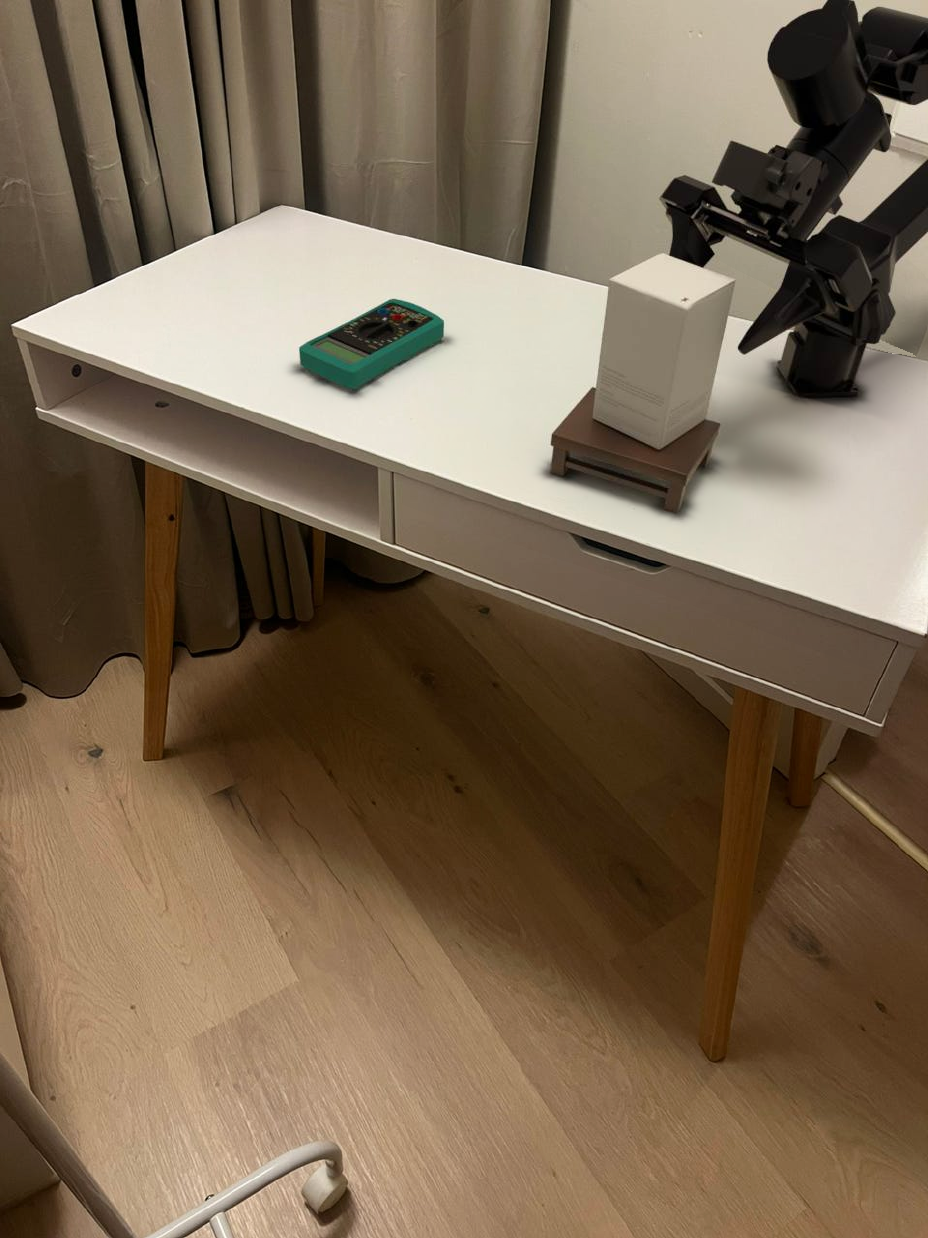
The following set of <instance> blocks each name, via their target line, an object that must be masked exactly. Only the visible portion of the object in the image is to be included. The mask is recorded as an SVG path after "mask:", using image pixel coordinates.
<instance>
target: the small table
mask: <svg viewBox="0 0 928 1238" xmlns="http://www.w3.org/2000/svg"><path fill="white" fill-rule="evenodd" d="M595 392H596V387H595V386H592V387H591V388H590V389H589V390H588V391H587V392H586V393H585V395H584V396H583V397H582V398H581V399H580V401H579V402H578V403H577V404H576V405H575V406H574V408H573V409H571V411H570V412H569V413H568V415H567V416H566V417H565V418H564V419H563V420H562V421H561V423H560V424H559V425H558V426H557V427H556V428H555V429H554V430H553V432H551V436H550V446H551V447H552V456H551V464H550V473H551V474H553V475H554V474H555V475H558V476H560V477H564V476H565V474H566V473H567V472H568V471H569V469H571V470H574V471H578V472H581V473H584V474H588V475H589V476H590V475H591V476H593V477H597V478H600V479H603V480H606V481H608V482H609V481H610V482H613V483H615V484H619V485H621V486H626V487H628V488H632V489H635V490H638V491H642V492H645V493H648V494H650V495H654V496H657V497H660V498H664V499H665V502H664V507H663V509H664V510H667V511H670V512H674V513H678V512H679V511H680V509H681V508H682V506H683V504H684V503H683V502H684V499H685V493H686V489H687V485H688V483H689V482H690V480H691V478H692V476H693V475H694V473H695V472H696V470H697V469H698V468H701V469H703V470H704V469H706V468H707V466H708V464H709V463H710V459H711V454H712V451H713V447H714V443H715V441H716V439H717V437H718V435H719V432H720V428H721V423H720V422H717V421H714V420H710V419H707V418H705V419H704V420H703V421H702V422H701V423H699V424H698V425H696V426H695V427H693V428H692V429H690V430H689V431H687V432H686V433H684V434H683V435H681V436H680V437H678V438H677V439H675V440H674V441H672V442H671V443H669V444H668V445H666V446H665V447H663V448H662V449H660V450H658V449H656V448H654V447H652V446H650V445H648V444H646V443H644V442H641V441H639V440H637V439H635V438H633V437H631V436H629V435H627V434H625V433H623V432H621V431H619V430H616V429H614V428H612V427H610V426H608V425H606V424H604V423H602V422H600V421H597V420H595V419H593V409H594V401H595ZM571 453H574V454H577V455H580V456H583V457H587V458H589V459H593V460H596V461H599V462H603V463H606V464H608V465H609V464H610V465H612V466H616V467H620V468H622V469H625V470H629V471H632V472H635V473H638V474H642V475H645V476H648V477H652V478H654V479H658V480H661V481H665V482H667V483H668V487H667V486H664V485H661V484H658V483H655V482H651V481H648V480H644V479H642V478H640V477H639V478H638V477H636V476H633V475H629V474H626V473H623V472H619V471H617V470H613V469H610V468H607V467H603V466H600V465H597V464H593V463H590V462H587V461H584V460H582V459H581V460H580V459H578V458H574V457H571Z"/></svg>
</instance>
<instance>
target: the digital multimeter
mask: <svg viewBox="0 0 928 1238" xmlns="http://www.w3.org/2000/svg"><path fill="white" fill-rule="evenodd" d="M444 334H445V320H444V319H443V318H441V317H440V316H438V314H435V313H434V312H432V311H430V310H428V309H426V308H425V307H423V306H420V305H418V304H415V303H413V302H410V301H406V300H402V299H397V298H390V299H389V300H388V299H387V300H386V301H384V302H383V303H381V304H378V305H377V306H376V307H375V306H374V307H373V308H371V309H370V310H368V311H366V312H364V313H362V314H360V315H358V316H357V317H354V318H352V319H351V320H348V321H346V322H345V323H343V324H341V325H339V326H337V327H335V328H333V329H331V330H329V331H327V332H325V333H323V334H321V335H318V336H317V337H315V338H312V339H310V340H308V341H306V342H305V343H304V344H302V345H300V346H299V347H298V349H299V350H298V351H299V352H298V353H299V364H300V366H301V367H303V368H305V369H307V370H308V371H310V372H312V373H314V374H316V375H318V376H320V377H321V378H324V379H326V380H327V381H331V382H333V383H335V384H337V385H339V386H343V387H345V388H347V389H350V390H355V389H357V388H359V387H361V386H362V385H364V384H366V383H368V381H371V380H373V379H374V378H376V377H379V375H381V374H383V373H384V372H386V371H388V370H389V369H392V368H393V367H395V366H397V365H398V364H400V363H402V362H403V361H406V360H407V359H409V358H411V357H412V356H414V355H416V354H418V353H419V352H421V351H423V350H425V349H426V348H428V347H430V346H432V345H433V344H435V343H437V342H439V341H440V340H441V339H443V338H444V336H445V335H444Z"/></svg>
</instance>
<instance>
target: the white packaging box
mask: <svg viewBox="0 0 928 1238" xmlns="http://www.w3.org/2000/svg"><path fill="white" fill-rule="evenodd" d="M735 285H736V279H735V278H733V277H730V276H727V275H724V274H721V273H718V272H715V271H713V270H709V269H707V268H705V267H703V268H702V267H699V266H696V265H693V264H691V263H688V262H685V261H682V260H680V259H677V258H674V257H672V256H669V254H666V253H663V252H661V253H659V254H657V255H655V256H653V257H650V258H649V259H646V260H644V261H643V262H640V263H638V264H636V265H634V266H633V267H631V268H629V269H627V270H625V271H623V272H621V273H618V274H616V275H615V276H612V277H610V278H609V279H608V288H607V297H606V305H605V313H604V321H603V329H602V337H601V344H600V353H599V360H598V369H597V377H596V383H595V388H596V392H595V401H594V409H593V419H595V420H597V421H600V422H602V423H604V424H606V425H608V426H610V427H612V428H614V429H616V430H619V431H621V432H623V433H625V434H627V435H629V436H631V437H633V438H635V439H637V440H639V441H641V442H644V443H646V444H648V445H650V446H652V447H654V448H656V449H658V450H660V449H662V448H663V447H665V446H666V445H668V444H669V443H671V442H672V441H674V440H675V439H677V438H678V437H680V436H681V435H683V434H684V433H686V432H687V431H689V430H690V429H692V428H693V427H695V426H696V425H698V424H699V423H701V422H702V421H703V420H704V419H707V415H708V411H709V406H710V402H711V397H712V392H713V389H714V383H715V378H716V374H717V369H718V365H719V360H720V354H721V350H722V346H723V341H724V338H725V333H726V327H727V323H728V318H729V313H730V309H731V304H732V300H733V295H734V290H735Z"/></svg>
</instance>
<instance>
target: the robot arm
mask: <svg viewBox="0 0 928 1238" xmlns="http://www.w3.org/2000/svg"><path fill="white" fill-rule="evenodd" d="M766 58H767V59H766V61H767V65H768V69H769V71H770V73H771V76H772V78H773V80H774V83H775V85H776V87H777V89H778V92H779V94H780V97H781V98H782V100H783V103H784V105H785V108H786V110H787V112H788V114H789V117H790V118H791V120H792V121H793V122H794V123H795V124H797V126H799V129H798V130H797V131H796V133H795V134H794V135H793V137H792V139H790V141H789V143H788V144H787V145H786V147H785V146H781V145H778V144H775V145H774V146H772V147H771V148H770V149H769V150H768V151H767V152H764V151H762V150H759V149H756V148H753V147H751V146H749V145H745V144H742V143H740V142H737V141H734V140H729V143H728V145H727V147H726V149H725V152H724V153H723V156H722V158H721V160H720V162H719V165H718V167H717V169H716V171H715V173H714V175H713V178H712V180H711V183H712V184H714V185H715V186H719V187H724V186H725V187H727V188H729V189H731V190H733V192H732V193H731V194H730V198H731V200H732V202H733V204H734V205H735V206H737V207H739V208H740V210H739V212H735V211H733V210H731V209H728V207H727V205H726V204H725V202H724V200H723V198H722V197H721V195H720V193H719V192H718V190H717V188H716V187H715V186H714V185H711V184H709V183H705V182H703V181H701V180H698V179H696V178H693V177H691V176H688V175H686V174H684V175H681V176H677V177H674V178H673V179H672V180H671V181H670V182H669V184H668V185H667V186H666V188H665V189H664V190H663V192H662V194H661V195H660V197H659V198H658V200H659V201H660V203H661V205H662V206H663V207H664V208H665V216H666V218H667V220H668V221H669V223H670V225H671V231H672V232H671V233H672V239H671V243H670V249H669V254H668V255H669V256H672V257H674V258H677V259H680V260H682V261H685V262H688V263H691V264H693V265H696V266H699V267H702V268H705V266H706V265H707V264H708V263H709V262H710V261H711V259H712V258H713V257H714V256H715V255H716V253H715V252H714V250H713V248H712V246H714V245H716V244H719V243H721V242H723V240H724V239H725V238H726V237H727V238H729V239H731V240H733V241H735V242H738V243H740V244H742V245H744V246H747V247H749V248H752V249H754V250H756V251H758V252H760V253H763V254H765V255H766V256H769V257H772V258H774V259H776V260H778V261H780V262H782V263H785V264H787V268H786V271H785V274H784V276H783V279H782V282H781V284H780V287H779V289H778V290H777V291H776V292H775V294H774V295H773V296H772V297H771V299H770V300H769V301H768V303H766V306H765V307H764V308H763V310H762V311H761V312H760V313H759V314H758V316H757V317H756V319H754V321H753V322H752V324H751V325H750V326H749V328H747V330H746V332H745V333H744V335H743V337H742V338H741V340H740V341H739V344H738V345H737V350H738V352H739V354H742V355H747V354H749V353H751V352H752V351H754V350H756V349H757V348H759V347H761V346H763V345H764V344H766V343H768V342H769V341H772V339H775V338H776V337H778V336H780V335H782V334H783V333H785V332H787V331H789V330H790V329H792V328H793V331H789V332H788V334H787V336H786V337H787V338H786V340H785V344H784V347H783V351H782V354H781V359H779V360H777V362H776V368H777V369H778V370H779V372H780V373H781V375H782V377H783V378H784V380H785V381H786V383H787V385H788V386H789V388H790V389H791V391H792V392H793V394H794V395H795V397H796V396H797V397H799V398H814V397H815V398H816V397H821V398H822V397H857V396H859V395H860V393H861V389H860V387H859V386H858V384H857V383H856V382H855V381H856V377H857V375H858V372H859V368H860V367H861V363H862V360H863V357H864V354H865V350H866V348H867V345H868V344H869V345H876V344H878V343H880V340H881V337H882V336H883V335H885V334H886V333H887V331H888V329H889V328H890V326H891V323H892V322H893V320H894V318H895V316H896V312H897V311H896V309H895V305H893V302H892V300H891V297H890V295H889V294H890V293H891V289H892V284H893V279H894V275H895V274H894V273H895V269H896V264H897V263H898V262H899V261H900V259H901V258H903V257H904V256H905V255H906V254H907V253H908V252H909V251H910V250H911V249H912V248H913V247H915V245H916V244H917V243H918V242H919V241H920V240H922V238H923V237H925V235H926V234H928V158H927V159H926V160H924V162H923V163H921V165H919V166H918V167H917V168H916V169H915V170H914V171H913V172H912V173H910V175H909V176H908V177H907V178H905V180H903V181H902V183H900V184H899V185H898V186H897V187H896V188H895V189H894V190H893V191H892V192H891V193H890V194H889V195H888V196H887V197H886V198H884V200H882V202H880V203H879V204H878V205H877V206H876V207H875V208H874V209H873V210H871V212H870V213H869V214H868V215H867V216H866V217H865V218H863V219H862V220H860V221H857V220H854V219H852V218H849V217H847V216H843V215H842V214H838V215H837V213H839V211H840V210H841V208H842V206H843V205H844V203H843V201H842V199H841V196H840V195H841V193H842V192H843V191H844V190H845V188H846V186H847V185H848V184H849V183H850V181H851V180H852V178H853V177H854V176H855V175H856V173H857V172H858V171H859V169H860V168H861V167H862V165H863V163H864V162H865V161H866V160H867V158H868V157H869V156H870V154H871V153H872V151H873V150H875V151H878V152H881V153H888V151H889V150H890V148H891V142H892V133H891V124H892V118H893V116H892V114H891V113H888V112H885V108H884V106H883V103H882V101H881V100H880V99H879V97H882V98H886V99H889V100H893V101H895V102H898V103H902V104H906V105H909V106H917V105H920V104H922V103H923V102H926V101H927V100H928V17H926V16H922V15H917V14H913V13H910V12H906V11H901V10H897V9H892V8H889V7H884V6H876V7H872V8H870V9H869V10H868V11H867V12H866V13H864V14H863V15H862V17H861V20H860V21H859V13H858V8H857V6H856V2H855V0H826V1H825V3H824V4H823V6H822V7H821V8H816V9H813V10H809V11H807V12H805V13H802V14H800V15H798V16H797V17H795V18H794V19H792V20H790V21H789V22H788V23H787V24H786V25H785V26H782V27H780V28H779V29H778V30H777V32H776V33H775V34H774V36H773V39H772V40H771V42H770V44H769V47H768V50H767V57H766ZM878 96H879V97H878ZM827 213H829V214H831V215H834V217H833V218H830V220H829V221H828V222H827V223H826V224H825V225H824V227H823V228H821V230H819V232H817V233H815V234H813V235H811V234H812V233H813V232H814V231H815V229H816V228H817V226H818V225H819V223H820V222H821V220H823V218H824V217H825V215H826V214H827Z"/></svg>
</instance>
